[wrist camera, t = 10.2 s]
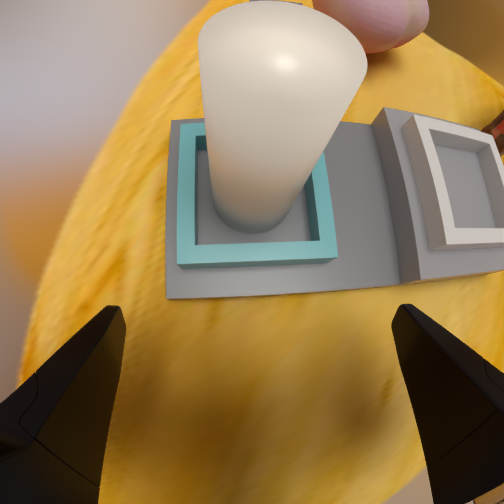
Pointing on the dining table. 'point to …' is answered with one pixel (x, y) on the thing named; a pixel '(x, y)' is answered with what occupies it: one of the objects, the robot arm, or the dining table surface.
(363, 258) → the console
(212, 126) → the white rounded cylinder
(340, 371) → the dining table surface
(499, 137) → the tin
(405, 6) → the decorative fruit
